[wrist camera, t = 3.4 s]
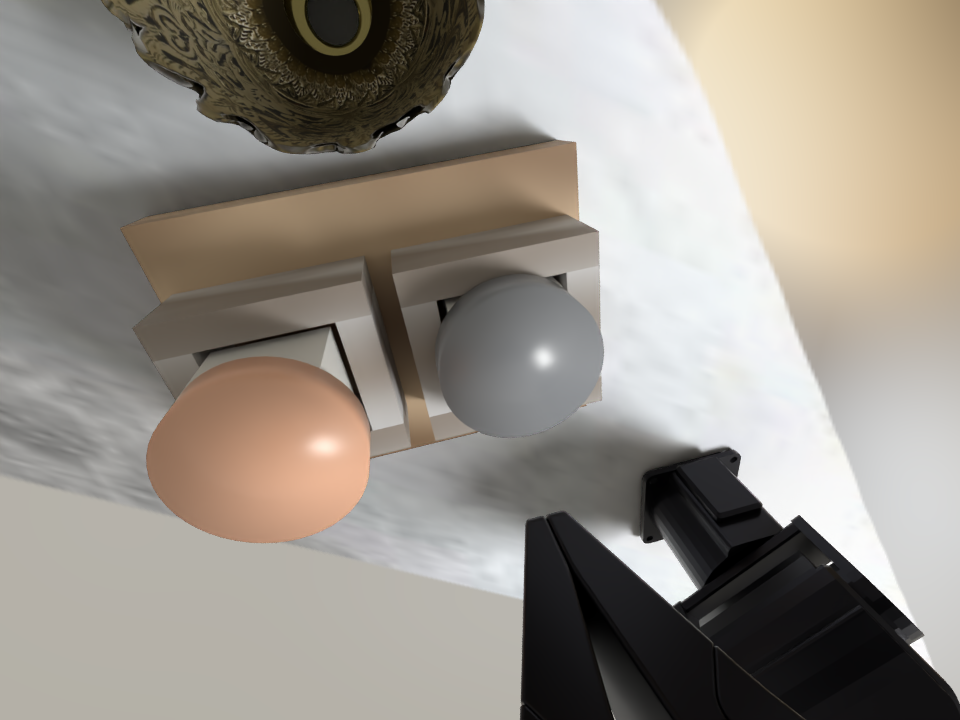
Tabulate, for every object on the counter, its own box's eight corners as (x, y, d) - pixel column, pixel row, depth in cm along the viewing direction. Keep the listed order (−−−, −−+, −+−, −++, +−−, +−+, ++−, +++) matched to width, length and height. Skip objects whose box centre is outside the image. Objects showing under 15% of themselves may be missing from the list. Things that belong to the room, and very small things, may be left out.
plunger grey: (562, 360, 20) (604, 416, 16) (441, 388, 20) (456, 453, 16) (554, 238, 17) (602, 271, 14) (413, 267, 17) (422, 310, 13)
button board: (571, 385, 24) (613, 443, 20) (270, 457, 23) (244, 537, 18) (557, 139, 18) (612, 146, 14) (147, 216, 17) (64, 251, 12)
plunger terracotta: (388, 430, 18) (390, 515, 14) (245, 464, 17) (206, 562, 13) (347, 299, 15) (334, 362, 11) (173, 336, 14) (99, 415, 11)
